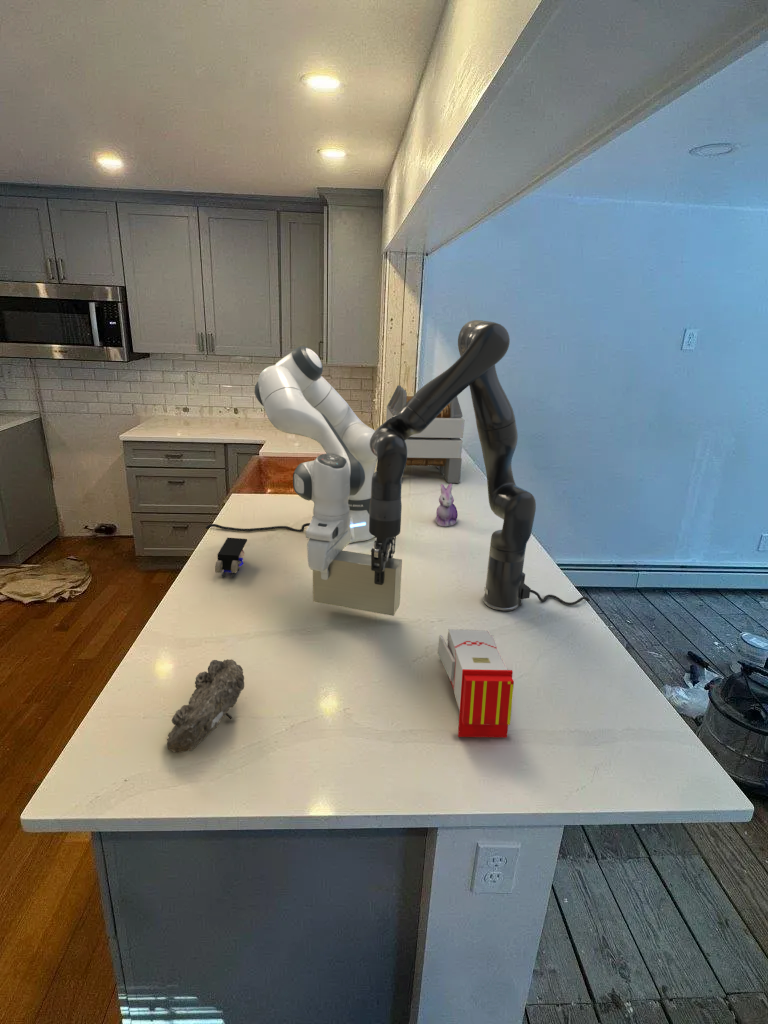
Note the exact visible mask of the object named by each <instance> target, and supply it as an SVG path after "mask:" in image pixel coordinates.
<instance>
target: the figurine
mask: <svg viewBox="0 0 768 1024" xmlns="http://www.w3.org/2000/svg"><path fill="white" fill-rule="evenodd" d="M452 489H453V483H449V484H448V485H447V487H445V485H444V484H443V483H441V484H440V494H439V497H438V503H439V506H438V507H437V508H436V513H435V515H436V517H435V521H434V522H435V523H436V524H437V526H440V527H450V526H454V525H455V524H457V520H458V517H459V516H458V514H459V513H458V510H457V507H456V505H455V504H454V502H455V498H454V495H453V493H452Z"/></svg>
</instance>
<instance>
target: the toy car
mask: <svg viewBox="0 0 768 1024" xmlns="http://www.w3.org/2000/svg"><path fill="white" fill-rule="evenodd" d="M247 542H248V538H240V537H226V539H225V541H224V543H223V544H222V546H221V547H220V549H219V551H218V552H217V560H216V562H215V564H214V572H215V573H221V577H222V578H224V577H225V576H226V574H227V573H230V574H231V573H232V574H231V578H234V577H235V575H236V573H237V572H239V571H240V567H242V566H243V565H244V564H245V562H244V558H245V551H244V547H245V546H246V544H247Z"/></svg>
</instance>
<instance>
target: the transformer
mask: <svg viewBox="0 0 768 1024" xmlns="http://www.w3.org/2000/svg"><path fill="white" fill-rule="evenodd" d="M407 394H408V393H407V390H406V389H404V388H403V387H402V385H399V384H398V385H397V386H396V388H395V390H394V392H393V394H392V395H391V398H390V400H389V402H388V404H387V405H386V413H385V414H386V415H385V422H386V421H387V420H388V419H390V418H391V417H392V416H394V415H395V414H397V413H398V412H399V411H400V410H401V409H402V408H403V407H404V405H405V404H406V403H407V402H408V401H409V400H410V399H411V398H412V397H413V396H414V395H412V396H411V395H407ZM464 429H465V419H464V418H463V411H462V408H461V405H460V402H459V398H458V396H456V397H455V398H454V399H453V400H452V401H451V402H450V403H449V404H448V405H447V406H446V407H445V408H444V409H443V410H442V411H441V412H440V413H439V415H438V416H437V417H436V418H435V419H434V420H433V421H432V422H431V423H430V424H429V425H428V426H427V427H426V429H425V430H423V431H422V432H421V433H419V434H413V435H411V436H410V437H409V438H408V439H406V440H405V442H406V445H407V460H406V465H405V466H406V467H407V466H411V467H412V466H413V467H415V466H416V467H417V466H418V467H436V468H437V470H438V469H439V473H440V474H441V475H443V478H444V479H445V481H446V482H447V483H449V484H450V483H452V484H455V483H456V484H459V483H461V472H462V461H463V460H462V453H463V442H464V441H463V440H462V439H463V438H464V431H465V430H464Z"/></svg>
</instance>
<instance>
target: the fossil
mask: <svg viewBox="0 0 768 1024" xmlns="http://www.w3.org/2000/svg"><path fill="white" fill-rule="evenodd" d="M243 670H244V669H243V667H242V665H240V664H237V662H236V661H235V660H234V659H232V658H231V659H227V658H226V659H224V660H223V661H222V660H217V659H212V660H211V661H210V663H209V665H208V666H207V671H201V672H199V673H198V674H197V675H196V676H195V680H194V684H195V685H194V687H195V689H194V690H193V693H192V694H191V697H190V698H189V700H188V704H184V705H182V706H181V707H180V709H177V710H176V711H175V713H174V715H173V716H172V718H171V723H172V724H173V727H172V730H171V731H170V732H168V734H167V738H166V741H167V742H166V745H167V749H168V750H169V751H173V752H174V753H176V754H178V753H182V752H188V751H189V752H192V751H193V750H195V748H196V747H197V746H199V744H200V743H201V742H203V741H204V740H205V739H206V738H207V737H208V736H209V735H210V734H211V733H212V732H214V730H215V729H217V727H218V726H219V724H220V722H221V721H222V720H223V719H224V718H225V716H226V717H227V719H229V720H233V717H232V715H230V714H229V710H230V709H231V708H234V706H235V704H236V703H237V702H238V699H239V697H240V695H241V693H242V691H243V690H245V689H244V688H245V675H244V671H243Z"/></svg>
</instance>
